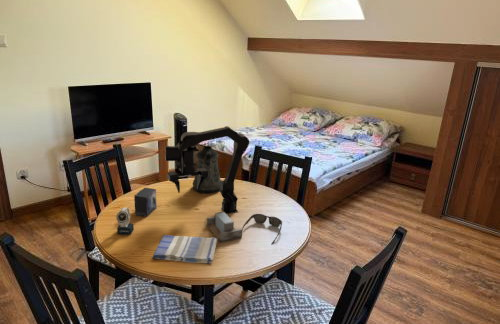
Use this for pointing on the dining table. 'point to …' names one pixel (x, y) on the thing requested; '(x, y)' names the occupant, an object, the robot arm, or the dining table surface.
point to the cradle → (224, 235)
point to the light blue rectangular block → (223, 222)
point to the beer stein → (209, 162)
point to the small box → (145, 202)
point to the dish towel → (186, 249)
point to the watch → (124, 222)
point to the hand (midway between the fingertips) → (188, 191)
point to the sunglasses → (262, 218)
